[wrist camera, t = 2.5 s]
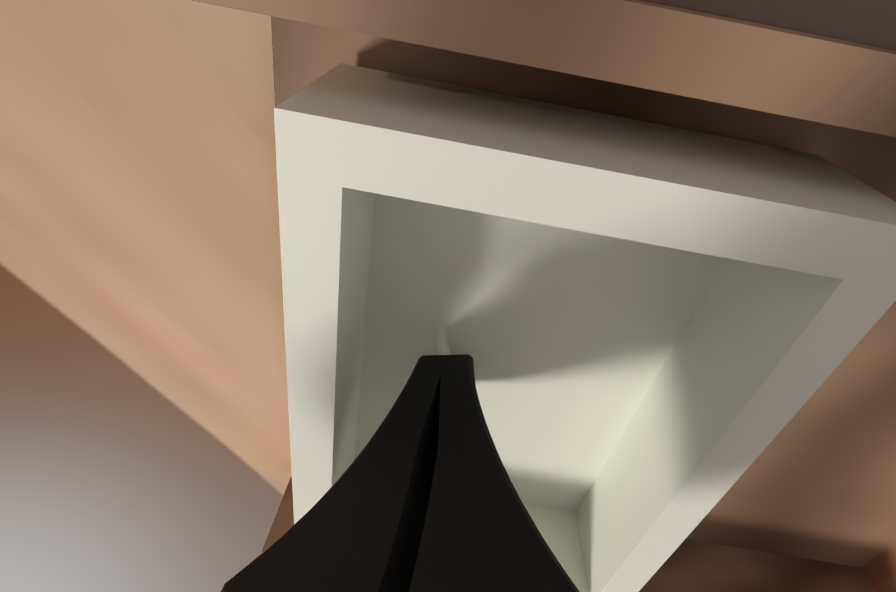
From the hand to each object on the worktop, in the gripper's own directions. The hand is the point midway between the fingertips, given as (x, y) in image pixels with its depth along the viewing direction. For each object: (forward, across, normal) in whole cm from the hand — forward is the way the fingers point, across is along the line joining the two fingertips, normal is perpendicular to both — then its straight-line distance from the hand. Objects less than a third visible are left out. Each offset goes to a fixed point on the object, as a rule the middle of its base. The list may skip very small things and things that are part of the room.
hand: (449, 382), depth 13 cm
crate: (+1, -1, 0) cm, 2 cm away
